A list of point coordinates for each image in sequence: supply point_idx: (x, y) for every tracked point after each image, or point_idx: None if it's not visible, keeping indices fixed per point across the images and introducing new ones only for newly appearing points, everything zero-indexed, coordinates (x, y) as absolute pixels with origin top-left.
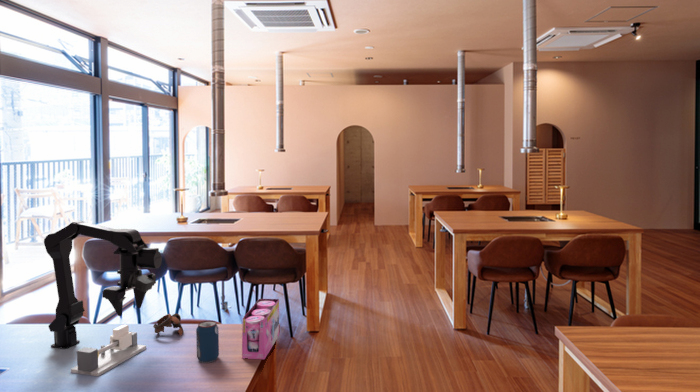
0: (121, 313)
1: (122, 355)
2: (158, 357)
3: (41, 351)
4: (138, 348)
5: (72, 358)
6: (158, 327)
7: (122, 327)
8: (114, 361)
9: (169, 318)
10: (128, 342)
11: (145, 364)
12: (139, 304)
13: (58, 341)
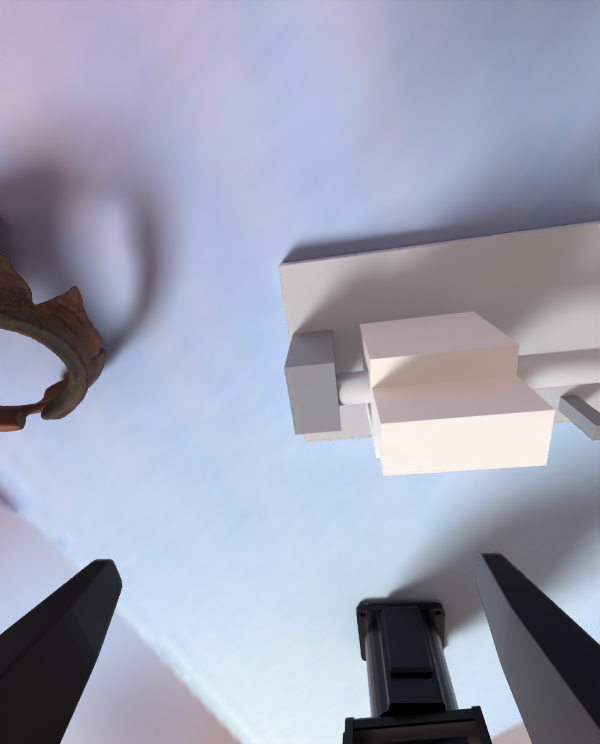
0: (509, 580)
1: (478, 284)
2: (378, 16)
3: (486, 650)
4: (340, 277)
5: (529, 514)
6: (74, 343)
7: (466, 425)
8: (586, 253)
9: None
10: (402, 328)
11: (533, 4)
12: (83, 610)
13: (445, 659)
